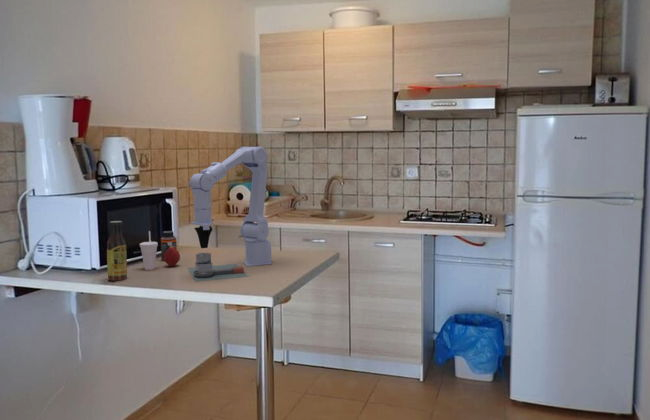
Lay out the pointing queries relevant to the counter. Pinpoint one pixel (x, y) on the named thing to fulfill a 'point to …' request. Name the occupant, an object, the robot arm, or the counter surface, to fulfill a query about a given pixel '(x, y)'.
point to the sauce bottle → (116, 253)
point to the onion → (171, 256)
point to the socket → (203, 263)
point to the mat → (218, 267)
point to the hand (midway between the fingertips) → (204, 247)
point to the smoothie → (149, 253)
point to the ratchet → (219, 272)
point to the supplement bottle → (167, 242)
